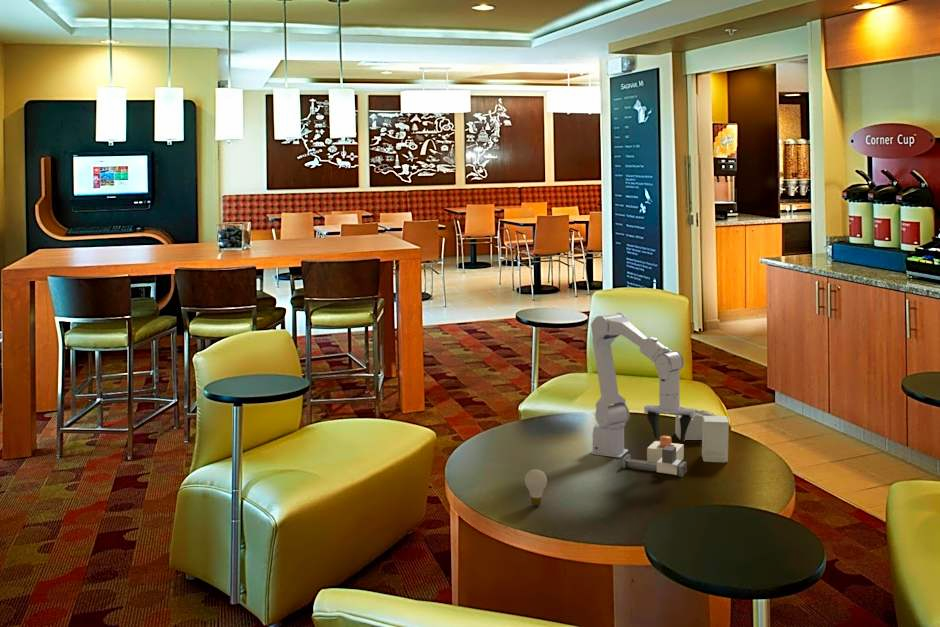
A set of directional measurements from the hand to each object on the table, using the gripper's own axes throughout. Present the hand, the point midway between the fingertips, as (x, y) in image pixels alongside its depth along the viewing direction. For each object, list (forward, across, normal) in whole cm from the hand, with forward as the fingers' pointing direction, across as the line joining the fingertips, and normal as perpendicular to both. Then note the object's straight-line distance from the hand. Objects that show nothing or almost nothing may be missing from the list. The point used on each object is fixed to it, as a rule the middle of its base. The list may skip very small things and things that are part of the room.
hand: (669, 438), depth 255 cm
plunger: (+8, -4, +10) cm, 13 cm away
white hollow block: (+10, -4, +10) cm, 15 cm away
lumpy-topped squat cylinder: (+10, -2, +39) cm, 40 cm away
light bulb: (+10, -25, -41) cm, 49 cm away
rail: (+10, -5, 0) cm, 11 cm away
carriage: (+10, 0, 0) cm, 10 cm away
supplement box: (+10, +9, +18) cm, 23 cm away
